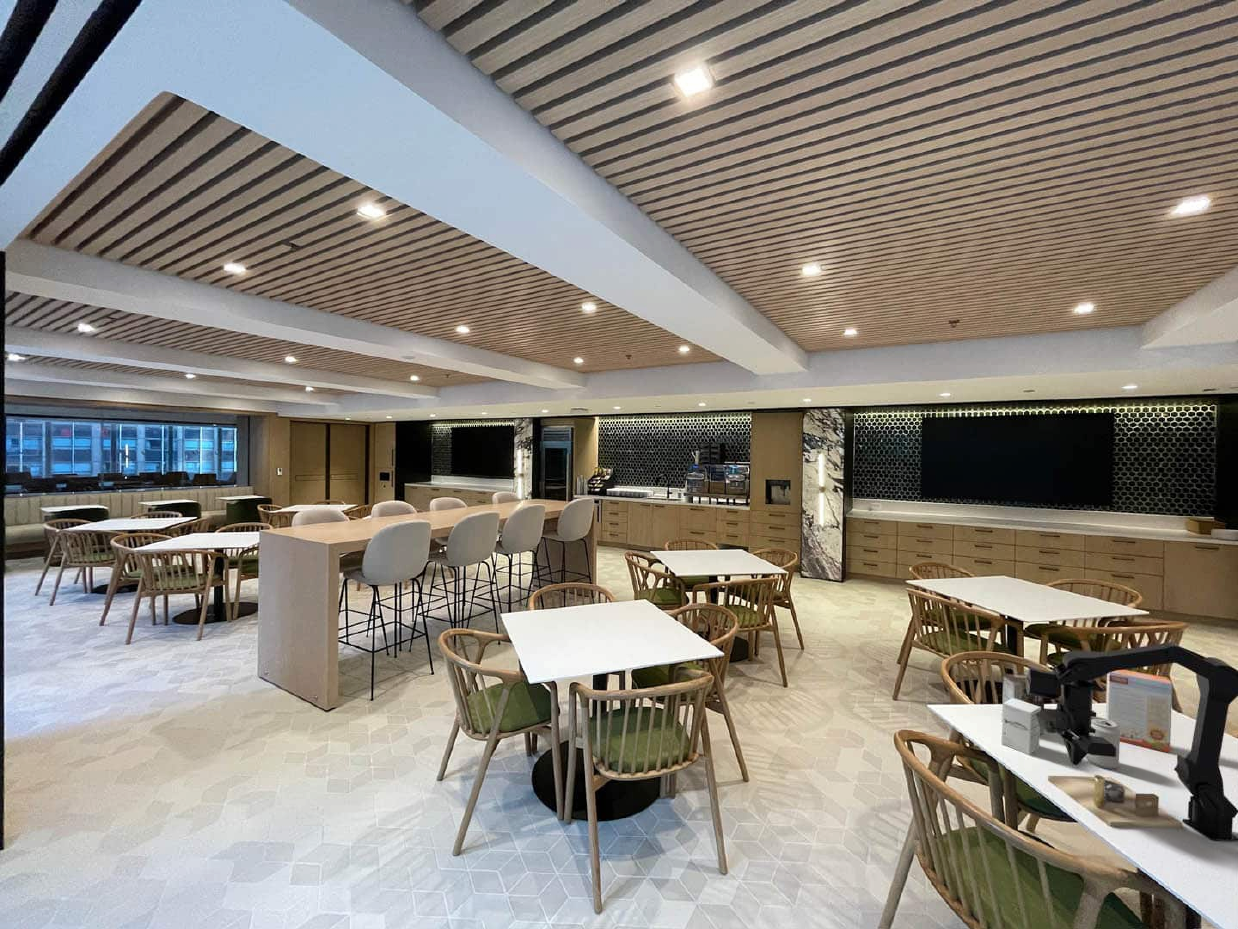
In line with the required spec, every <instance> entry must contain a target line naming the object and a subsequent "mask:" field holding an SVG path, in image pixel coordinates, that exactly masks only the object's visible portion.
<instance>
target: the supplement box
mask: <svg viewBox="0 0 1238 929" xmlns="http://www.w3.org/2000/svg"><path fill="white" fill-rule="evenodd" d="M1002 705H1003V722H1002V721H1001V723H1002V724H1001V741H1000V743H1001V745H1004V746H1007V747H1009V748H1012V749H1015V750H1017V751H1019V752H1022V753H1024V754H1026V755H1028V756H1030V755H1031V754H1032V753H1034V752H1036V751H1037V750H1039V746H1040V735H1041V734H1040V726H1039V723H1038V720H1037V717H1036V713H1038V712H1040V711H1041V707H1039V706H1036V705H1033V704H1030V703H1027V702H1024V701H1021V700H1018V699H1015V698H1012V699H1010V700H1008V701H1006V702H1004V704H1003V703H1002Z"/></svg>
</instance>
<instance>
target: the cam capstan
mask: <svg viewBox="0 0 1238 929" xmlns="http://www.w3.org/2000/svg"><path fill="white" fill-rule="evenodd" d="M1094 777H1095V786H1094V804H1095V805H1096V806H1098V807H1104V804H1106V803H1107V802H1108V801H1111V802H1116V803H1123V802H1124V801H1125V789H1124V788H1123V787H1122V786H1120V785H1119V784H1116V783H1114V782H1111V781H1107V780H1105V778H1104V777H1105V776H1102V775H1100V774H1095V775H1094Z"/></svg>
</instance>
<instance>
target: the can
mask: <svg viewBox="0 0 1238 929" xmlns="http://www.w3.org/2000/svg"><path fill="white" fill-rule="evenodd" d="M1091 727H1093V728H1094V729H1096V732H1095V733H1090V734H1091V735H1093V736H1096V737H1103V738H1104V739H1106V740H1107V741H1109V742H1110V743H1111V744H1113V745H1114V746H1115V747H1116V748H1117V751H1116V757H1109V756H1098V755H1091V754H1087V755H1086V756H1085V757H1084V759H1086V760H1087V762H1089V763H1091V764H1092V765H1094V766H1097V767H1099V768H1104V769H1107V770H1109V769H1110V770H1111V769H1114V768H1118V767H1119V764H1120V747H1121V744H1120V743H1121V741H1120V730H1119V729H1118V728H1117V724H1116V723H1114V722H1113V721H1110V720H1108V719H1106V717H1100V716H1096V717H1092V719H1091Z"/></svg>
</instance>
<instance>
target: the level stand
mask: <svg viewBox="0 0 1238 929" xmlns="http://www.w3.org/2000/svg"><path fill="white" fill-rule="evenodd" d="M1103 777H1104V778H1105V780H1107V781H1111V782H1114V783H1116V784H1119V785H1120V786H1122V787H1123V788H1124V789H1125V801H1124V802H1123V803H1116V802H1111V801H1108V802H1107V803H1106V804H1104V807H1098V806H1096V805H1095V804H1094V786H1095V776H1084V775H1083V776H1081V775H1079V776H1078V775H1077V776H1076V775H1047V781H1048V782H1050V784H1052V785H1053V786H1054V787H1056V786H1057V789H1060V791H1062V792H1063V793H1064V792H1065V794H1066V796H1069V797H1070V798H1071V799H1072V800H1074V801H1075V802H1076V803H1078V804H1079V803H1080V804H1079V805H1080V806H1082V807H1083V808H1085V809H1086V810H1087V811H1089V812H1090V813H1091V814H1092V815H1094V816H1096V818H1098V819H1099V820H1101V821H1102V822H1103V823H1105V824H1106V825H1108V826H1109V827H1114V828H1116V827H1117V828H1118V827H1120V828H1121V827H1122V828H1168V829H1169V828H1173V829H1175V828H1176V829H1181V828H1183V821H1180V820H1179V819H1177V818H1176V817H1175V816H1172V815H1171V814H1169V813H1168V812H1167V811H1165V810H1163V809H1162V808H1160V807H1159V806H1160V805H1159V802H1160V800H1159V799H1160V797H1159V796H1158V795H1157V794H1155V793H1138V792H1135V791H1133V790H1132V789H1130V788H1129V787H1127V786H1126V785H1124V784H1123V783H1121V782H1120V781H1118V780H1116V779H1115V778H1114V777H1112V776H1103Z"/></svg>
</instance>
